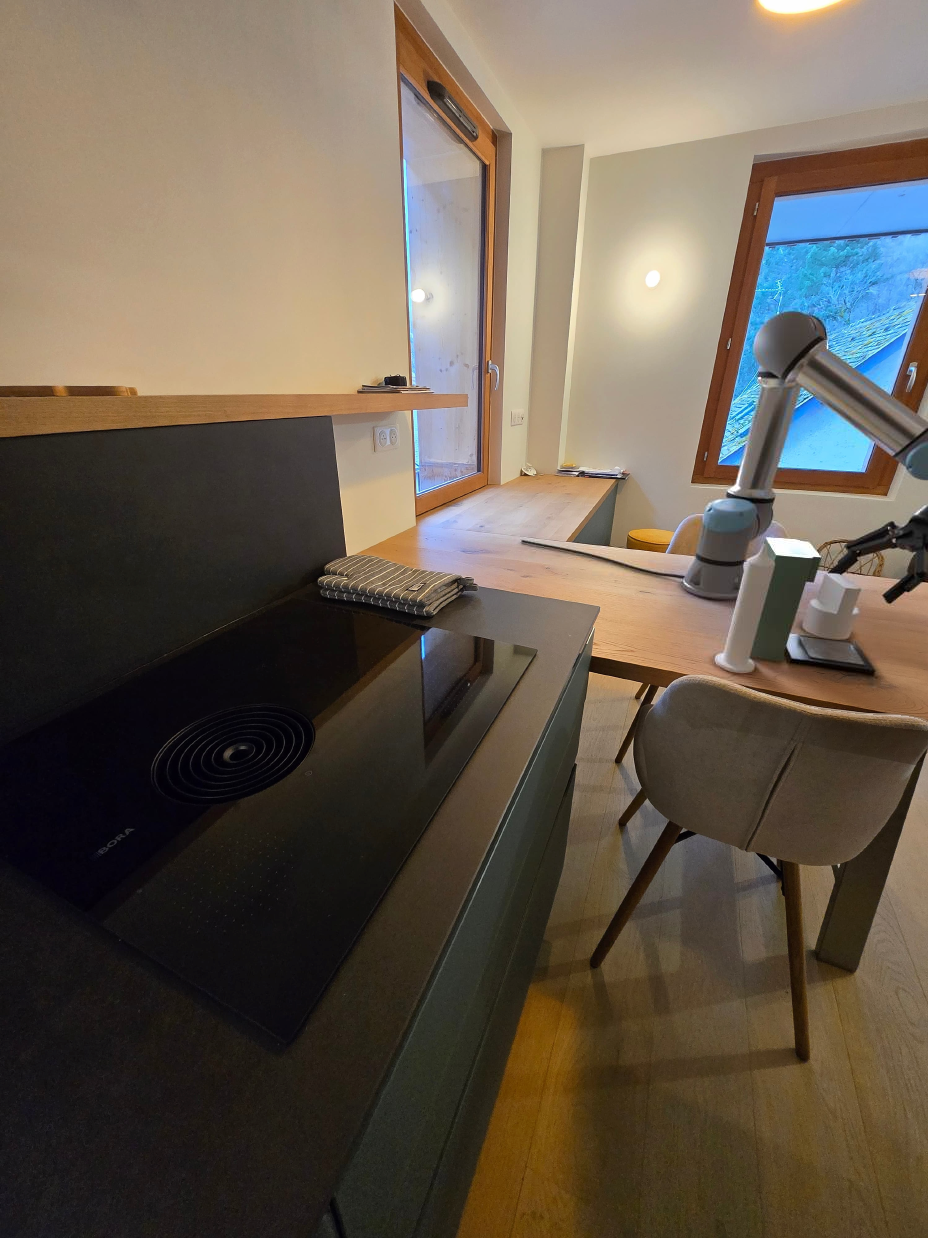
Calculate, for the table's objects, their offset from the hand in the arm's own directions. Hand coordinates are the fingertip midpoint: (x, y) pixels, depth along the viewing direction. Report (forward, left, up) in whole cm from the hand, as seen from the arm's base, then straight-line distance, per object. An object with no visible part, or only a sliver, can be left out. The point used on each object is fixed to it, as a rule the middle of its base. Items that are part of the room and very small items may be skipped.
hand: (856, 587), depth 107 cm
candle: (-25, -25, -10) cm, 37 cm away
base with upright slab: (-4, -2, -10) cm, 11 cm away
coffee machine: (-11, -15, -10) cm, 21 cm away
